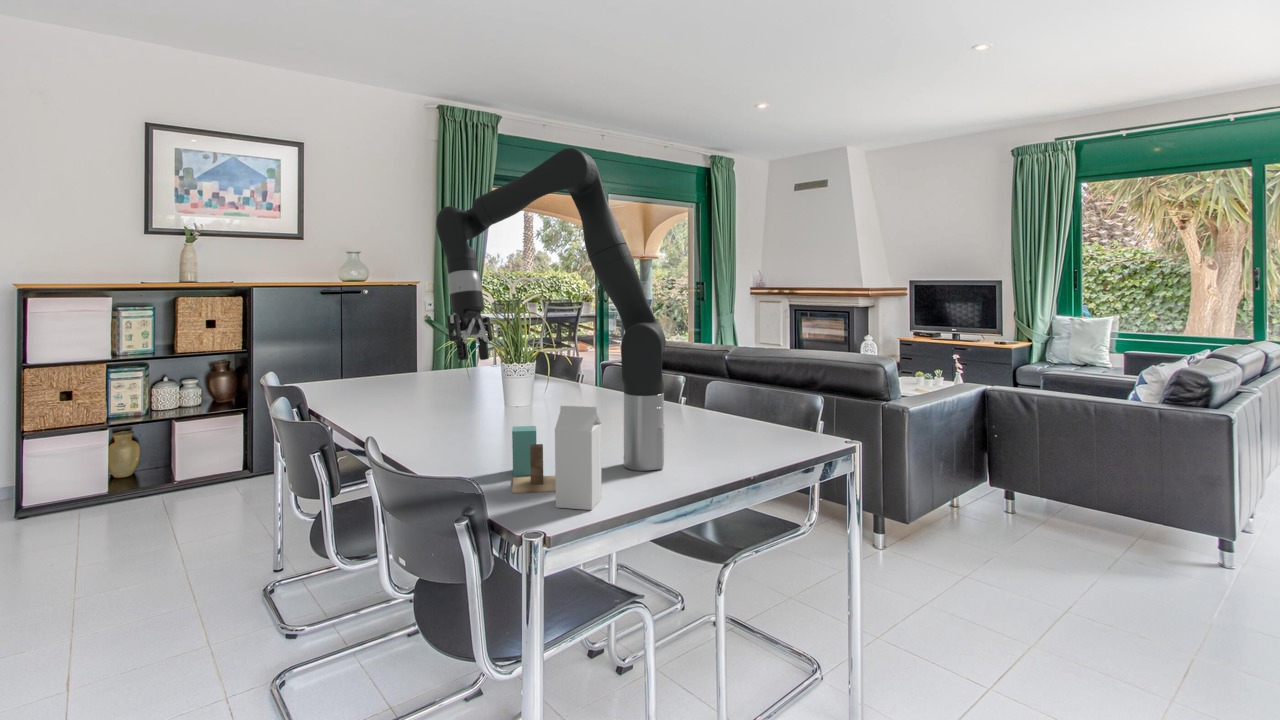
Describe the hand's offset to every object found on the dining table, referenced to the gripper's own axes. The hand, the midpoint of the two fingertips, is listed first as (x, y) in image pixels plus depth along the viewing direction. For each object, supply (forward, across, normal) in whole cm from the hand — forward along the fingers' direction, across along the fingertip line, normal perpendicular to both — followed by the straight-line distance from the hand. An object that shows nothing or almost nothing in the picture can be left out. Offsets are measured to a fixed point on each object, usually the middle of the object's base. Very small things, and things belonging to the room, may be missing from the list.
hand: (474, 359), depth 157 cm
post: (+29, -11, -18) cm, 36 cm away
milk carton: (+32, -18, -32) cm, 49 cm away
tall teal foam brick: (+27, -3, -12) cm, 30 cm away
